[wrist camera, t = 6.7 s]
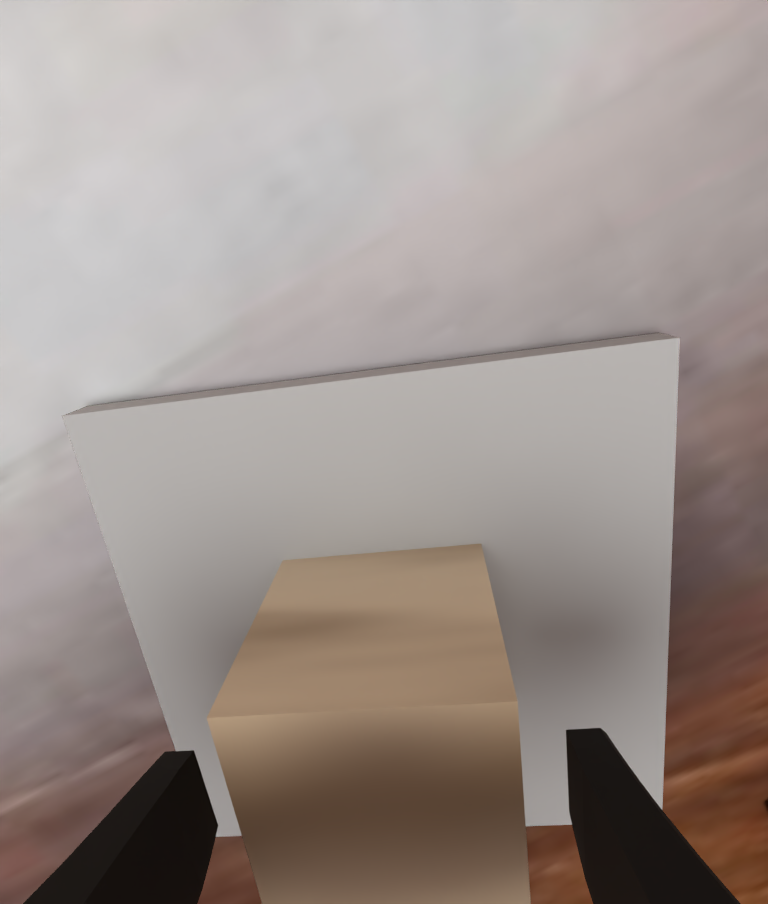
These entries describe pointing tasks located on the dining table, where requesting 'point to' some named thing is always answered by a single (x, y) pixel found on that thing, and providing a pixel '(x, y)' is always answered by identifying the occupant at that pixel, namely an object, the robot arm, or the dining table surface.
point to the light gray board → (413, 526)
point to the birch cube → (377, 734)
